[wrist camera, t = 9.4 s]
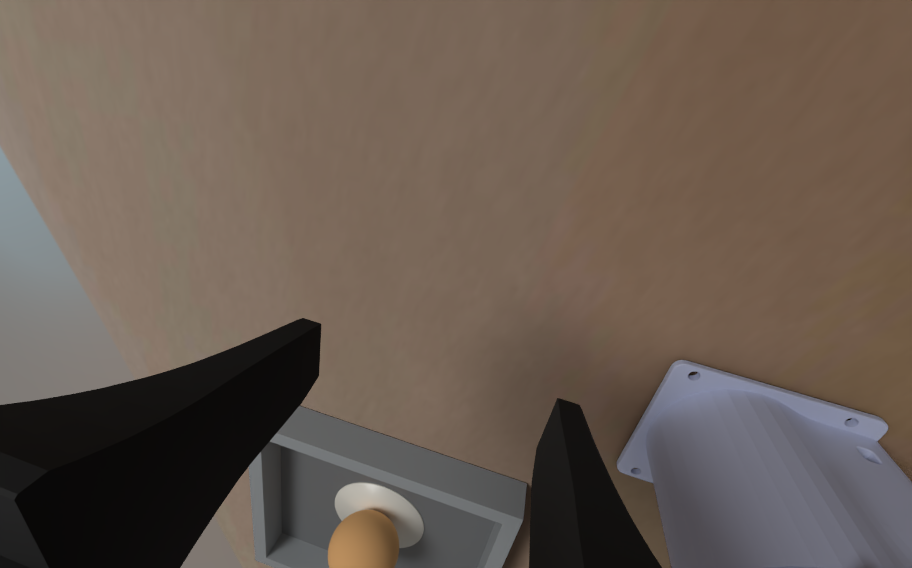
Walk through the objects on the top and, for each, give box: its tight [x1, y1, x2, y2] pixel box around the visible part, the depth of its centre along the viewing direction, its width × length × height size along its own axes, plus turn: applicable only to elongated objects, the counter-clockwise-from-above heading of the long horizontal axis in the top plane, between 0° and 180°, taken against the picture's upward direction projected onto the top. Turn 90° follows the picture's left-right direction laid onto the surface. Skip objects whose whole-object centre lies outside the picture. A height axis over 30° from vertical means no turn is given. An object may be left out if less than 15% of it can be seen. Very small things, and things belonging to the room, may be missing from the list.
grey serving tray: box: [249, 406, 527, 568], centre depth 30 cm, size 18×16×2 cm
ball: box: [328, 510, 399, 568], centre depth 29 cm, size 5×5×5 cm
